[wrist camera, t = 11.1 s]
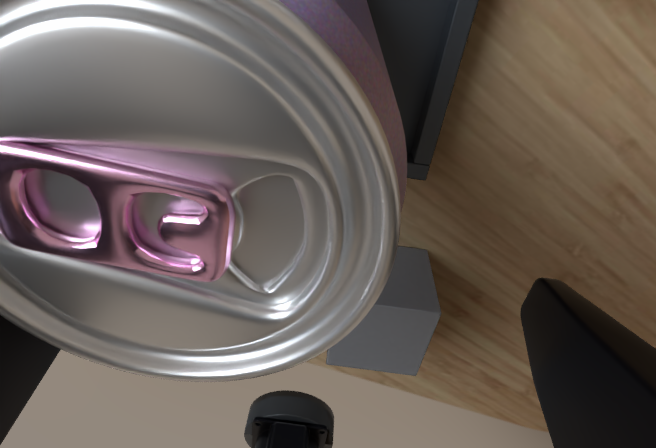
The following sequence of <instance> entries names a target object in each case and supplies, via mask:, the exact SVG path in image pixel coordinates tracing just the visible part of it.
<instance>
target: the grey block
mask: <svg viewBox="0 0 656 448" xmlns="http://www.w3.org/2000/svg"><path fill="white" fill-rule="evenodd" d="M440 316H441V310H440V305H439V301H438V296H437V292H436V288H435V283H434V279H433V274H432V270H431V265H430V261H429V256H428V252H427V250H424V249H417V248H409V247H402V246H398V248H397V252H396V256H395V260H394V264H393V267H392V270H391V273H390V275H389V278H388V280H387V282H386V285H385V287H384V289H383V291H382V293H381V294H380V296H379V298H378V299H377V301H376V303H375V304H374V305H373V307H372V308H371V310H370V311H369V312H368V314H367V315H366V316H365V317H364V318H363V320H362V321H361V322H360V323H359V324H358V325H357V326H356V327H355V328H354V329H353V330H352V331H351V332H350V333H349V334H348V335H347V336H345V337H344V338H343V339H342V340H340V341H339V342H338V343H337V344H335V345H334V346H332V347H331V348H329V349H328V350H327V360H326V364H328V365H336V366H344V367H351V368H359V369H367V370H374V371H382V372H390V373H397V374H405V375H413V376H416V375H417V372H418V370H419V367H420V365H421V362H422V360H423V357H424V355H425V352H426V350H427V348H428V345H429V343H430V340H431V338H432V335H433V333H434V330H435V328H436V325H437V323H438V320H439V318H440Z"/></svg>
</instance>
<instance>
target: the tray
mask: <svg viewBox="0 0 656 448" xmlns="http://www.w3.org/2000/svg"><path fill="white" fill-rule="evenodd" d="M478 1H479V0H367V3H368V7H369V10H370V13H371V17H372V20H373V24H374V27H375V31H376V34H377V37H378V41H379V44H380V48H381V51H382V54H383V58H384V61H385V65H386V68H387V71H388V75H389V78H390V82H391V85H392V88H393V92H394V95H395V99H396V102H397V105H398V109H399V112H400V116H401V120H402V125H403V129H404V134H405V142H406V151H407V178H412V179H419V180H426V177H427V174H428V170H429V167H430V166H429V165H430V163H431V160H432V157H433V153H434V150H435V147H436V143H437V140H438V136H439V133H440V130H441V126H442V123H443V119H444V116H445V113H446V109H447V106H448V103H449V99H450V96H451V92H452V89H453V86H454V82H455V79H456V76H457V72H458V69H459V65H460V62H461V59H462V55H463V52H464V49H465V45H466V42H467V38H468V35H469V32H470V28H471V25H472V22H473V18H474V15H475V11H476V8H477V5H478Z"/></svg>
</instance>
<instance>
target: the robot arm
mask: <svg viewBox="0 0 656 448" xmlns="http://www.w3.org/2000/svg"><path fill="white" fill-rule="evenodd" d="M521 321H522V326H523V331H524V336H525V341H526V346H527V351H528V356H529V361H530V366H531V372H532V376H533V380H534V384H535V388H536V391H537V395H538V398H539V401H540V404H541V408H542V411H543V414H544V417H545V420H546V423H547V427H548V430H549V433H550V436H551V439H552V443H553V446H554V448H656V349H655V348H654V347H652V346H651V345H649V344H648V343H647V342H645V341H644V340H642V339H641V338H640V337H638V336H637V335H636V334H634V333H633V332H631V331H630V330H629V329H627V328H626V327H624V326H623V325H622V324H620V323H619V322H618V321H616V320H615V319H613V318H612V317H611V316H609V315H608V314H606V313H605V312H604V311H602V310H601V309H600V308H598V307H597V306H595V305H594V304H593V303H591V302H590V301H588V300H587V299H586V298H584V297H583V296H581V295H580V294H579V293H577V292H576V291H575V290H573V289H572V288H570V287H569V286H568V285H566V284H565V283H563V282H562V281H560V280H557V279H550V278H538V279H537V280H536V281H535V282H534V284H533V285H532V287H531V289H530V291H529V293H528V295H527V297H526V299H525V300H524V302H523V304H522V307H521ZM60 350H61V349H59V348H57V347H55V346H53V345H51V344H49V343H47V342H45V341H43V340H41V339H39V338H37V337H35V336H33V335H32V334H30V333H28V332H26V331H25V330H23V329H21V328H20V327H18V326H16V325H15V324H13V323H12V322H10V321H8V320H7V319H5V318H4V317H2V316H1V315H0V445H1V443H2V442H3V440H4V438H5V437H6V435H7V434H8V432H9V430H10V429H11V427H12V426H13V424H14V423H15V421H16V419H17V418H18V416H19V414H20V413H21V411H22V410H23V408H24V406H25V405H26V403H27V401H28V400H29V399H30V397H31V396H32V394H33V392H34V391H35V389H36V388H37V386H38V384H39V383H40V381H41V380H42V378H43V376H44V375H45V373H46V372H47V370H48V369H49V367H50V365H51V364H52V362H53V361H54V359H55V357H56V356H57V354H58V353H59V351H60ZM327 432H328V427H327V426H325V425H321V424H313V423H305V422H297V421H289V420H282V419H274V418H266V417H255V418H254V419H253V423H252V448H324V446H325V441H326V437H327Z"/></svg>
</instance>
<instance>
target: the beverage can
mask: <svg viewBox="0 0 656 448" xmlns="http://www.w3.org/2000/svg"><path fill="white" fill-rule="evenodd" d="M406 182H407V151H406V142H405V134H404V129H403V125H402V120H401V116H400V112H399V109H398V105H397V102H396V99H395V95H394V92H393V88H392V85H391V82H390V78H389V75H388V71H387V68H386V65H385V61H384V58H383V54H382V51H381V48H380V44H379V41H378V37H377V34H376V31H375V27H374V24H373V20H372V17H371V13H370V10H369V7H368V3H367V0H0V315H1V316H2V317H4V318H5V319H7V320H8V321H10V322H12V323H13V324H15V325H16V326H18V327H20V328H21V329H23V330H25V331H26V332H28V333H30V334H32V335H33V336H35V337H37V338H39V339H41V340H43V341H45V342H47V343H49V344H51V345H53V346H55V347H57V348H59V349H62V350H64V351H66V352H69V353H71V354H73V355H76V356H78V357H81V358H84V359H86V360H89V361H91V362H94V363H98V364H100V365H104V366H107V367H110V368H113V369H117V370H121V371H124V372H129V373H133V374H138V375H142V376H148V377H153V378H161V379H168V380H178V381H191V382H217V381H218V382H220V381H233V380H242V379H248V378H255V377H260V376H264V375H269V374H272V373H276V372H279V371H283V370H286V369H289V368H292V367H294V366H296V365H299V364H301V363H304V362H306V361H308V360H310V359H312V358H314V357H316V356H318V355H319V354H321V353H323V352H325V351H326V350H328V349H329V348H331V347H332V346H334V345H335V344H337V343H338V342H339V341H340V340H342V339H343V338H344V337H345V336H347V335H348V334H349V333H350V332H351V331H352V330H353V329H354V328H355V327H356V326H357V325H358V324H359V323H360V322H361V321H362V320H363V318H364V317H365V316H366V315H367V314H368V312H369V311H370V310H371V308H372V307H373V305H374V304H375V303H376V301H377V299H378V298H379V296H380V294H381V293H382V291H383V289H384V287H385V285H386V282H387V280H388V278H389V275H390V273H391V270H392V267H393V264H394V260H395V256H396V252H397V248H398V242H399V235H400V222H401V211H402V207H403V203H404V197H405V191H406Z"/></svg>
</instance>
